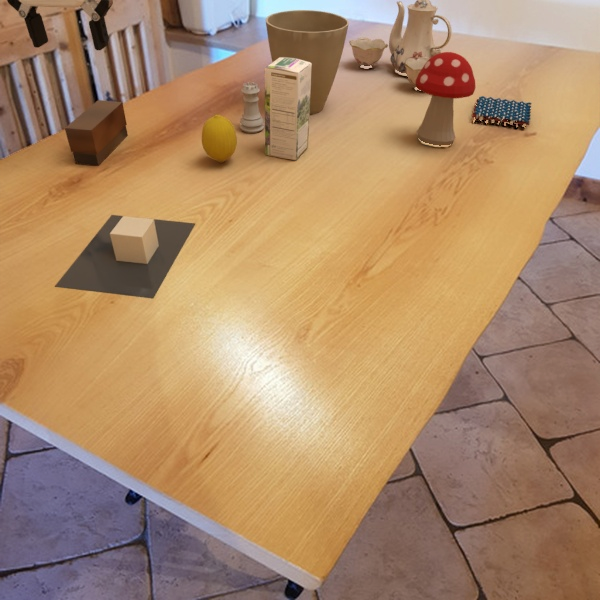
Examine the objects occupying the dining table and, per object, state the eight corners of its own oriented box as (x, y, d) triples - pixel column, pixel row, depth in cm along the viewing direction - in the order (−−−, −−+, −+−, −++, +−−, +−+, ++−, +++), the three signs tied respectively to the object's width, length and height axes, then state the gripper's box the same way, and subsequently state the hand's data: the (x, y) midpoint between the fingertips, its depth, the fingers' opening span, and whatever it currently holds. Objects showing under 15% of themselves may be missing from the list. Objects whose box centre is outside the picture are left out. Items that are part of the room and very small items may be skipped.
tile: (56, 293, 64) (53, 286, 63) (113, 220, 76) (111, 214, 75) (154, 305, 63) (153, 298, 62) (196, 229, 75) (195, 223, 74)
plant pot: (266, 122, 102) (264, 30, 92) (267, 94, 114) (266, 9, 103) (346, 123, 103) (353, 31, 93) (339, 94, 114) (344, 10, 104)
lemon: (214, 173, 87) (210, 124, 82) (198, 160, 90) (192, 112, 85) (244, 164, 90) (241, 116, 84) (227, 152, 93) (223, 105, 88)
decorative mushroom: (469, 140, 98) (490, 52, 88) (452, 157, 93) (471, 65, 83) (418, 127, 102) (432, 41, 92) (398, 143, 97) (411, 53, 87)
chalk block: (116, 260, 67) (109, 233, 65) (129, 242, 70) (123, 215, 68) (147, 264, 67) (141, 236, 64) (159, 245, 70) (154, 219, 67)
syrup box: (278, 142, 96) (277, 55, 87) (309, 148, 95) (312, 60, 85) (264, 155, 92) (262, 66, 83) (297, 161, 91) (298, 71, 81)
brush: (99, 166, 88) (91, 130, 84) (74, 163, 89) (64, 128, 85) (129, 135, 97) (122, 101, 93) (105, 133, 98) (98, 99, 94)
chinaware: (335, 73, 129) (334, -5, 118) (382, 52, 137) (386, -23, 125) (430, 107, 114) (440, 22, 102) (478, 82, 121) (492, -1, 109)
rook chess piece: (238, 124, 102) (236, 80, 96) (262, 123, 102) (261, 79, 97) (241, 134, 98) (238, 89, 93) (265, 133, 99) (264, 88, 94)
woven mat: (475, 103, 112) (477, 93, 110) (529, 111, 109) (532, 101, 108) (469, 123, 104) (471, 112, 103) (527, 131, 101) (530, 120, 100)
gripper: (-44, -91, 69) (4, 51, 80) (84, -89, 67) (116, 56, 78) (-10, -98, 75) (31, 36, 86) (109, -96, 73) (135, 41, 84)
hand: (71, 46), depth 82 cm, fingers open, 9 cm apart
